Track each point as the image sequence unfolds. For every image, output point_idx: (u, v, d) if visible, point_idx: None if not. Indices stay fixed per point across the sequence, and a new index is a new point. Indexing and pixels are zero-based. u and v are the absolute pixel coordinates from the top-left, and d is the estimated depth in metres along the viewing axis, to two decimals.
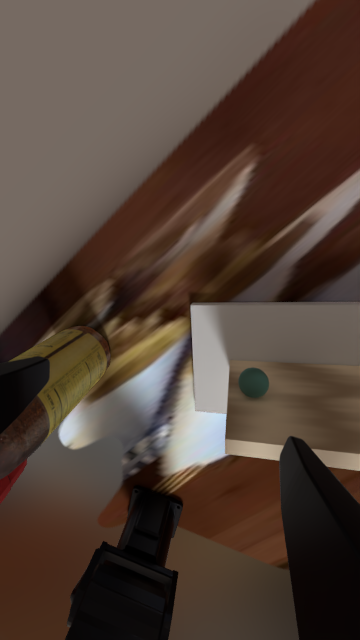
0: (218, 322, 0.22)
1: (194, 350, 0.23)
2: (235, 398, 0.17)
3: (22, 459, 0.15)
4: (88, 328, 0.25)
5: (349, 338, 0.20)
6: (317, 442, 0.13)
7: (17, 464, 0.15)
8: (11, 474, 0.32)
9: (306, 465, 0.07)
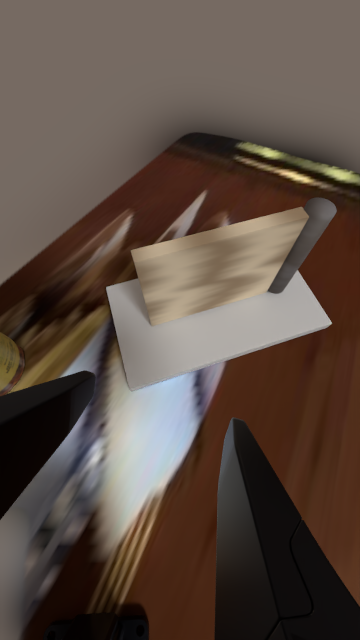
0: (131, 292, 0.26)
1: (115, 322, 0.24)
2: None
3: None
4: None
5: None
6: None
7: None
8: None
9: (237, 442, 0.07)
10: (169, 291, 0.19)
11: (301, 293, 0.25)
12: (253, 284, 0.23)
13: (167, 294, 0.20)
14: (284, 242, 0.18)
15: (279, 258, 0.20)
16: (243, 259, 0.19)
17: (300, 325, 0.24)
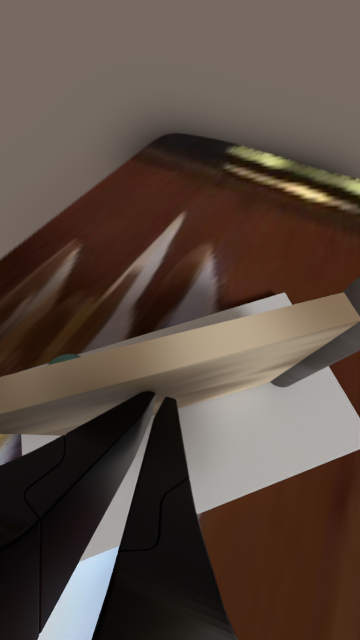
0: None
1: (24, 438, 0.15)
2: None
3: None
4: None
5: None
6: None
7: None
8: None
9: (158, 416, 0.07)
10: (79, 420, 0.10)
11: (322, 385, 0.16)
12: (243, 384, 0.14)
13: (78, 422, 0.11)
14: (301, 350, 0.09)
15: (289, 362, 0.11)
16: (218, 376, 0.10)
17: (322, 446, 0.15)
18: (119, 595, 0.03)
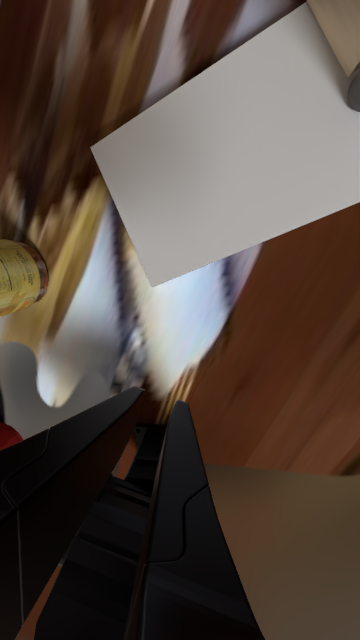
0: (127, 152, 0.18)
1: (118, 205, 0.19)
2: None
3: None
4: (9, 240, 0.22)
5: (281, 81, 0.15)
6: None
7: None
8: None
9: (172, 421, 0.07)
10: None
11: None
12: (348, 0, 0.11)
13: None
14: None
15: None
16: None
17: None
18: (152, 610, 0.03)
